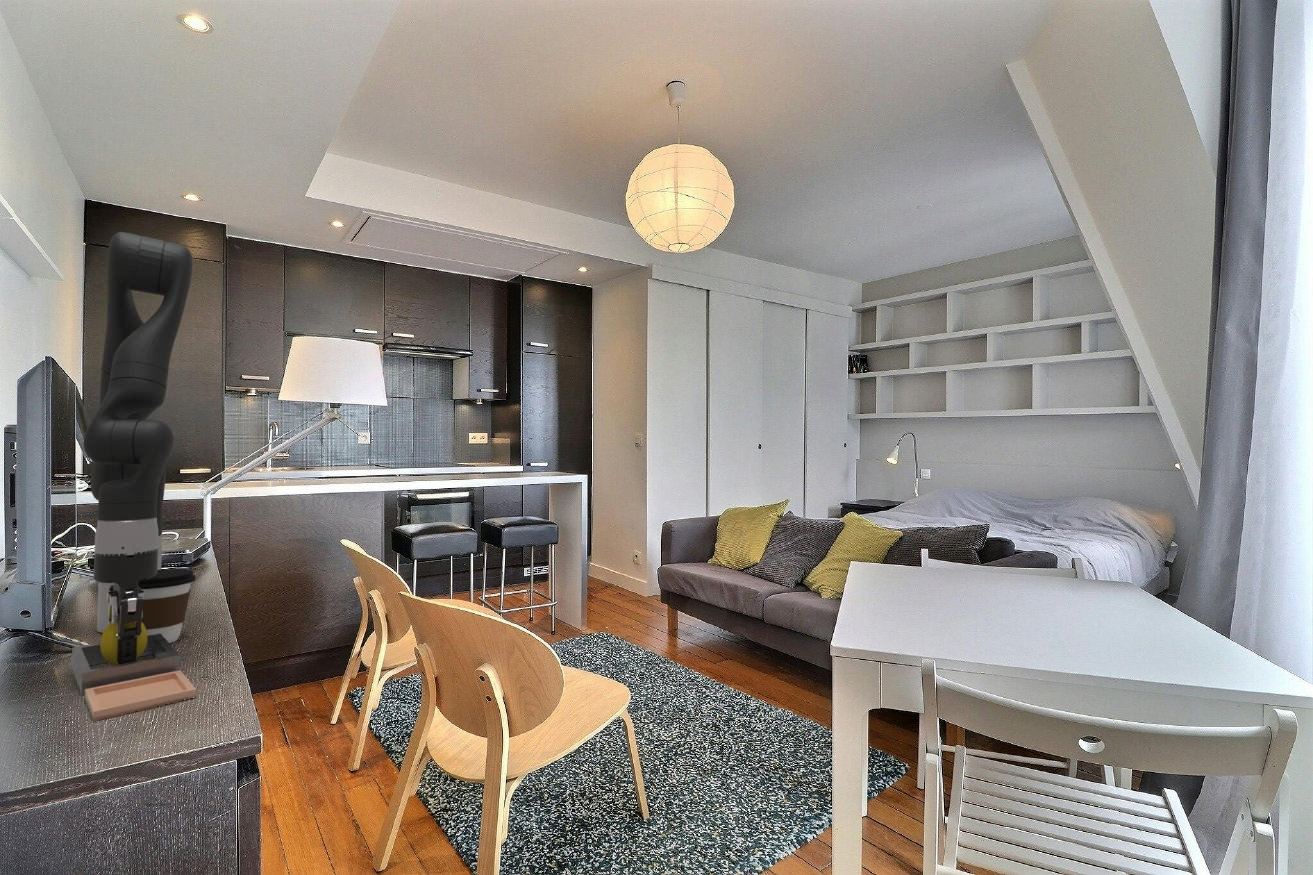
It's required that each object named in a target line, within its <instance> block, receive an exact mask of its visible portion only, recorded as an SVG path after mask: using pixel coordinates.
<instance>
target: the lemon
mask: <svg viewBox="0 0 1313 875" xmlns="http://www.w3.org/2000/svg"><path fill="white" fill-rule="evenodd" d="M128 628H134V624H133V623H132V622H131V623H125V624H124V629H128ZM141 629H142V632H141V635H139V636H138V637H137V659H139V658H140V657H141V656H140V655H141V654H142V653H143V652H144V650H145V648H146V645H147V631H146V628H145V626H144V624H143V623H142V622H141ZM116 634H117V626H116V625H114V624H113V623H110V624H109V625H108V626H107V627H106V629H105V630H104V632H103V633H102V635H101V639H100V642H99V643H100V650H101V653H102V656H103V657H104V659H105V660H106V661H108V662H107V663H110V664H113V665H120V664H118V663H117V641H118V640H117V638H116ZM139 656H140V657H139Z"/></svg>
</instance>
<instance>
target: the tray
mask: <svg viewBox="0 0 1313 875" xmlns="http://www.w3.org/2000/svg"><path fill="white" fill-rule="evenodd" d="M193 697H196V698H197V688H196V687H195V686H194V685H193V683H192V682H191V681H190V680H189V679H188V678H187V676H186V675H185V674H184V673H183V672H182V671H181V670H179V671H174V672H169V673H164V674H159V675H154V676H149V677H144V678H139V679H134V680H129V681H124V682H119V683H114V684H109V685H104V686H99V687H94V688H89V689H85V694H84V700H85V704H86V705H87V706H86V707H87V708H88V709H87V710H88V711H89V715H90V717H91V720H92V722H96V721H101V720H107V719H109V718H115V717H119V716H123V715H126V714H127V713H128V714H131V713H136V712H135V711H137V712H140V711H145V710H149V708H150V709H154V708H158V707H157V706H159V707H163V706H166V705H165V704H168V705H171V704H170V703H172V704H176V703H178V702H177V701H181V702H183V701H182V700H184V699H189V700H191V699H190V698H193ZM175 702H176V703H175ZM128 714H127V715H128ZM118 715H119V716H118Z"/></svg>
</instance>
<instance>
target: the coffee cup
mask: <svg viewBox="0 0 1313 875" xmlns="http://www.w3.org/2000/svg"><path fill="white" fill-rule="evenodd" d="M196 577H197V576H196V574H194V571H193V570H191V569H187V568H161V570H157V574H156V575H155V576H154V577H152V578H149V579H142V580H140V581H139V582H138V588H141V591H144V602H143V605H142V614H143V617H142V623H143V624H144V626H145V628H146V631H147V636H148V635H154V634H160V633H161V634H162V636H163V637H164V638H165V639H166V640H167V641H168V642H169V643H170V644H171V643H175V642H177V640H178V639H179V637H180V636H181V632H182V627H183V623H184V622H185V619H186V613H187V609H188V604H189V598H190V595H191V594H190V593H191V588H190V587H191V584H192V583H193V582H195V581H196V579H197V578H196Z"/></svg>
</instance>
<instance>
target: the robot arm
mask: <svg viewBox="0 0 1313 875" xmlns="http://www.w3.org/2000/svg"><path fill="white" fill-rule="evenodd" d="M106 264H107V265H106V266H107V267H106V278H107V279H106V294H107V295H106V298H107V299H106V301H107V302H106V303H107V304H106V329H105V336H104V337H105V338H104V345H103V353H102V362H101V369H100V370H101V371H100V388H99V408H98V409H97V411H96V413H95V415H94V416H93V418H92V419H91V421H90V423H89V424H88V426H87V428H86V430H85V434H84V436H83V449H84V452H85V454H86V456H87V457H88V458H89V460H91V461H92V466H91V471H90V490H91V494H92V496H93V497H94V499H95V500H96V501H98V503H97V504H98V505H97V507H98V509H97V522H96V523H97V524H96V529H95V533H94V557H93V558H94V561H93V562H94V563H93V580H94V581H95V582H97V584H98V585H97V586H98V588H97V589H98V591H97V612H96V613H97V616H96V618H97V619H96V631H97V632H99V633H102V634H103V632H104V630H105V629H106V627H107V626H108V625H109V624H110V623H113V624H114V625H116V626H117V634H116V638H117V640H118V641H117V663H118V664H125V663H131V662H136V661H137V659H138V658H137V637H138V636H139V635H141V632H142V629H141V622H142V617H143V614H142V605H143V602H144V591H141V588H138V582H139V581H140V580H142V579H149V578H152V577H154V576H155V575H156V574H157V570H162V557H163V556H162V555H163V554H162V553H163V552H162V551H163V550H162V548H163V514H164V512H163V511H164V509H163V508H164V496H165V488H166V479H167V478H166V474H167V472H166V471H167V470H166V464H167V463H168V460H169V457H170V454H171V452H172V449H173V446H174V441H175V440H174V434H173V431H172V429H171V427H170V426H169V425H168V424H167V423H166V422H164V421H162V420H158V419H148V417H150V416H151V415H152V414H153V412H155V411H156V410H157V409H158V408H160V407H161V406H162V405H163V403H164V401H165V399H166V394H167V386H168V378H169V377H168V376H169V369H170V362H171V356H172V352H173V348H174V344H175V341H176V337H177V335H178V331H179V329H180V326H181V323H182V322H181V321H182V317H183V314H184V310H185V306H186V304H187V298H188V295H189V290H190V287H191V281H192V273H193V258H192V253H191V251H190V249H188V248H187V247H186V246H184V245H181V244H178V243H175V242H174V243H173V242H170V241H165V240H162V239H158V238H153V237H149V236H145V235H144V236H143V235H139V234H135V233H130V232H124V231H119V232H117V233H115V234H114V235H113V236H112V237H111V239H110V241H109V245H108V252H107V263H106ZM133 291H135V292H141V293H146V294H150V295H151V294H152V295H156V296H163V299H162V302H161V304H160V306H158V308H157V310H156V311H155V312H154V313H153V315H151V316H150V318H148V319H147V320H146V321H145V322H143V320H142V318H141V316H140V315H139V312H138V309H137V307H136V304H135V301H134V297H133ZM131 622H132V623H133V624H134V628H128V629H124V624H125V623H131Z"/></svg>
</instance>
